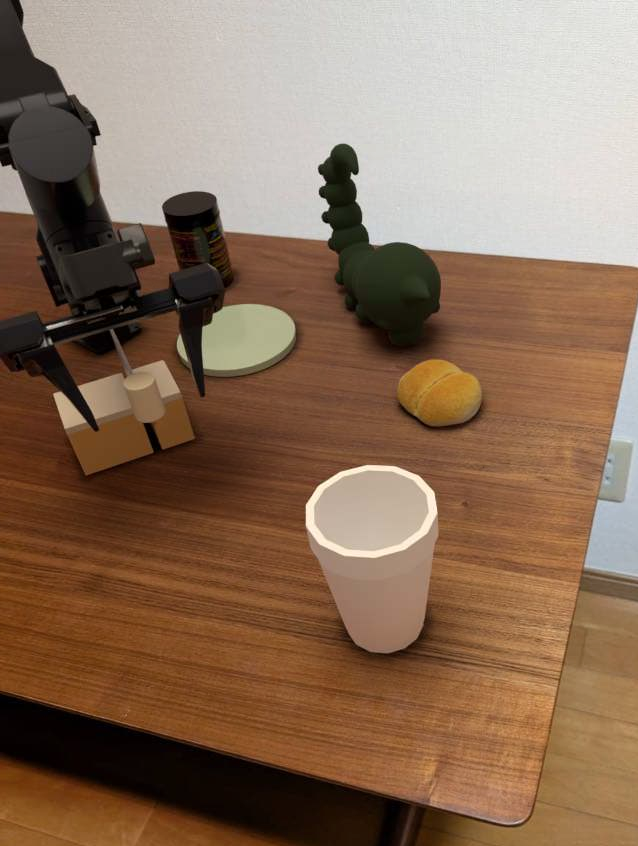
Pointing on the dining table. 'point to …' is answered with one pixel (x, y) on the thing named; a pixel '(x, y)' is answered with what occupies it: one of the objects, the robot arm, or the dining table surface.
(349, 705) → the dining table surface
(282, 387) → the dining table surface
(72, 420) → the cake
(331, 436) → the dining table surface
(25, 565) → the dining table surface
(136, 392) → the knife
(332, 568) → the foam cup
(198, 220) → the supplement container
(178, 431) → the cake slice
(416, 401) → the bread roll
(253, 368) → the plate
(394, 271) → the toy figurine
